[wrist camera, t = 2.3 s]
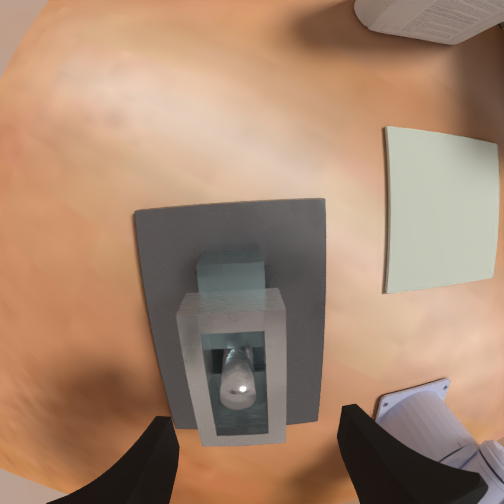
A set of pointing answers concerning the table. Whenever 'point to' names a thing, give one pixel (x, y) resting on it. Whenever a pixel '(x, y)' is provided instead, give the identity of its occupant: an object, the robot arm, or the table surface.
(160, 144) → the table surface
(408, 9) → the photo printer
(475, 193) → the sage mat
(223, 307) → the gray rectangular frame
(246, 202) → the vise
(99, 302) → the table surface
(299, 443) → the table surface
